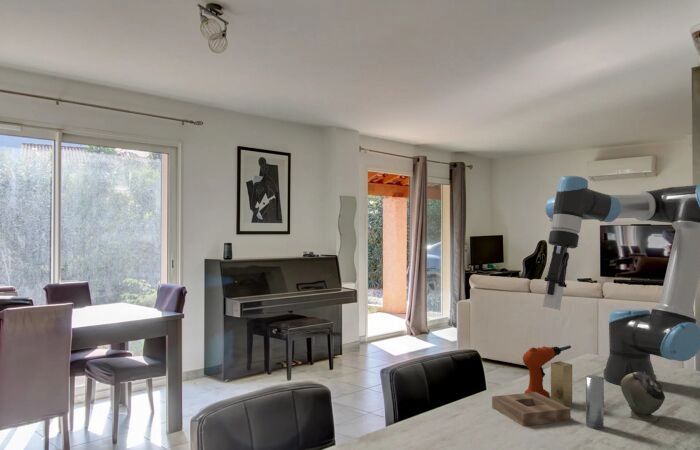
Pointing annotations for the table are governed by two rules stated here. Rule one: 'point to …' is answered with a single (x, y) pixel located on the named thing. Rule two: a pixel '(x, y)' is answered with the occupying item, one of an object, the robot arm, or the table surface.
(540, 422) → the socket block
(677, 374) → the table surface
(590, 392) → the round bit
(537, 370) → the toy drill
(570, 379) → the light brown rectangular block
